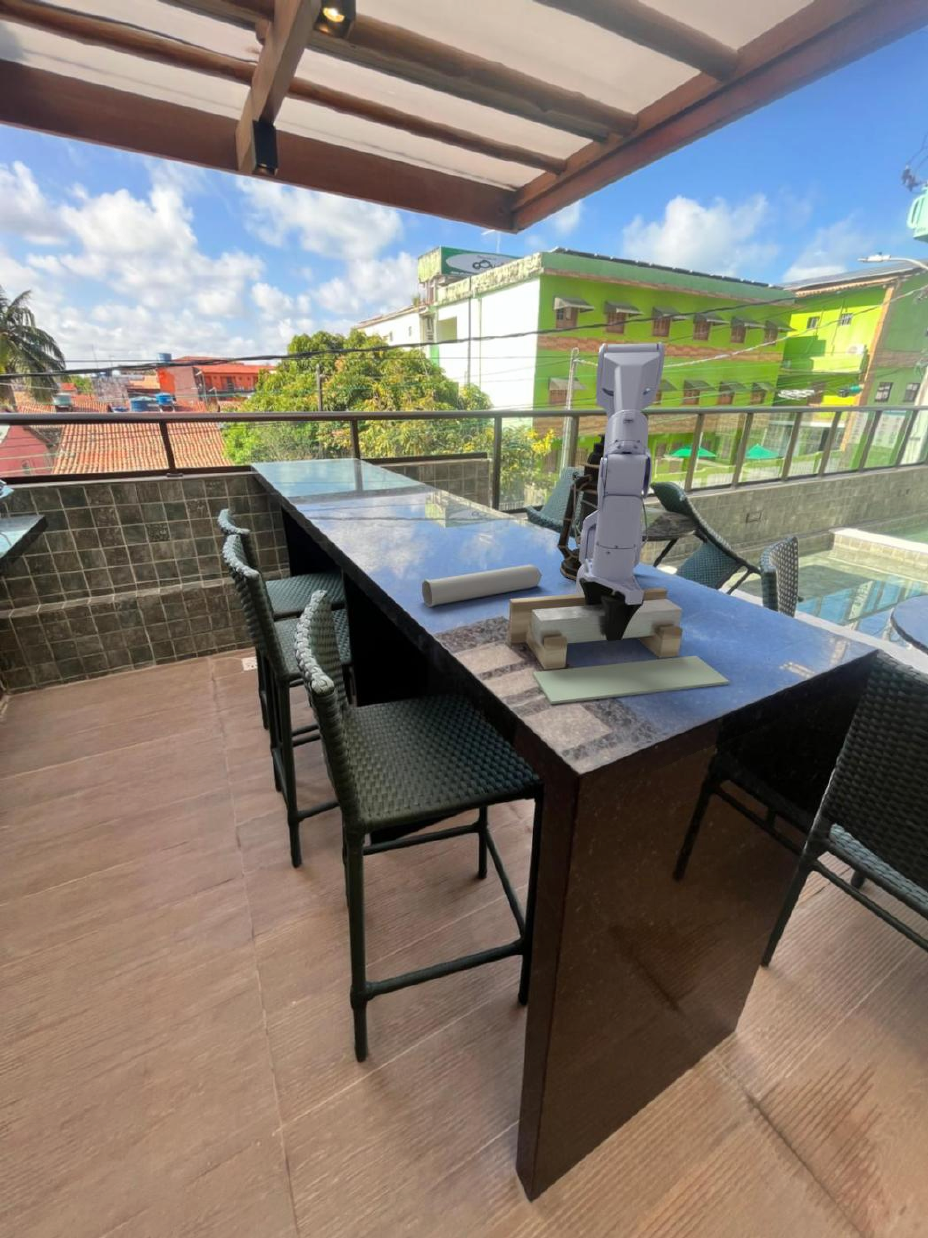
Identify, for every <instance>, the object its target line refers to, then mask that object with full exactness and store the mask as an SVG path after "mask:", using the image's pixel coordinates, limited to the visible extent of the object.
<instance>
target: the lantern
mask: <svg viewBox="0 0 928 1238" xmlns="http://www.w3.org/2000/svg"><path fill="white" fill-rule="evenodd" d="M597 437H600V438H601V439H600V441H599V442H595V443H594V442H593V448H592V449H593V450H592V452H590V453H589V455H588V457H587V460H586V461H584V462H580V463H579V465H580V466H583V475H579V471H574V472H572V473H571V478H572V481H573V484H572V485H570V487H569V494H568V499H567V502H566V506H565V510H564V515H563V518H562V520H563V521H562V525H561V530H560V534H559V538H558V543H557V545H556V547H557V548H558V550H559V551H560V553H561V555H562V557H563V560H562V561H561V565H560V568H559V571H560V572H561V574H562V575H563V576H564V577H565V578H567V577H568V578H567V579H569V578H570V579H569V580H572V581H575V582H576V581H577V573H578V570H579V568H580V567H581V565H582V564H581V562H580V561H579V553H580V542H581V532H582V530H583V521H584V520H585V518H586V517H587V516H589V515H590V514H592V513H593V512H595V511H597V510H598V492H597V487H598V476H599V467H600V461H601V458H603V455H604V444H605V433H600V434H597ZM581 492H582V493H583V494H582V497H581V499H579V497H580V494H581ZM641 499H642V500H643V506H642V511H643V514H644V522H645V523H644V524H645V534H646V539H645V540H644V542H642V548H641V550H642V549H643V548H644V546H645V545H646V543H647V542H648V541H649V533H648V532H649V531H648V517H647V512H646V507H645V502H644V495H643V494H641ZM578 502H579V504H580V510H579V511H580V512H579V522H578V525H576V511H577V506H578ZM572 528H574V529H573V530H574V538H575V539H574V541H575V546H576V548H574V549H570V548H569V541H570V537H571V532H572ZM577 533H578V534H579V536H578V535H577ZM586 553H587V552H586ZM585 559H586V558H585Z"/></svg>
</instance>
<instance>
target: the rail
mask: <svg viewBox="0 0 928 1238" xmlns="http://www.w3.org/2000/svg"><path fill="white" fill-rule="evenodd" d="M682 613H683V608H682V607H680V606H679V605H677V604H675V603H674V602H672V601H671V600H670V599H667V598H666V599H662V600H650V601H644V602H643V605H642V606H641V607H640V608H639V609H638V610H637V611H636V613H635V614H634V615H633V617H632V618H631V620H630V622H629V624H628V626H627V628H626V630H625V633H624V635H623V637H622V639H630V638H636V637H642V636H653V635H659V631H660V627H671V626H679V627H680V624H681V618H682ZM605 628H606V618H605V610H604V606H603V604H599V605H587V606H574V607H561V608H549V609H536V610H532V618H531V636H532V637H533V638H534V640H535V641H536V642H537V644H538V645H539V646H544V638H549V637H560V636H565V637H566V639H567V644H575V643H578V644H579V643H587V642H598V641H607V640H606V634H605Z"/></svg>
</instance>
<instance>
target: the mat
mask: <svg viewBox="0 0 928 1238" xmlns="http://www.w3.org/2000/svg"><path fill="white" fill-rule="evenodd" d="M531 675H532V677H533V679H535V681H536V683H537V685H538V686H539V688H540V689H541V692H543V694H544V695H545V697H546V699H547V700H548V702H549V703H550V705H556V704H563V703H575V702H581V701H582V702H583V701H590V700H598V699H600V700H601V699H606V698H607V699H608V698H609V699H610V698H617V697H626V696H627V697H628V696H634V695H643V694H651V693H652V694H653V693H658V692H659V693H660V692H669V691H677V690H686V689H696V688H704V687H712V686H721V684H723V685H728V683H729V684H730V680H728V679H727V678H726V677H725V676H723V675H722V674H720V672H718V671H716V670H715V669H714V668H713V667H712V666H710V665H709V664H708V663H706V662H705V661H703V660H702V659H701V658H699V657H698V656H697V655H691V656H689V655H688V656H680V657H679V656H678V657H668V658H659V659H652V660H651V659H650V660H641V661H633V662H631V661H630V662H620V663H612V664H604V665H593V666H591V665H590V666H583V667H581V666H580V667H575V668H574V667H573V668H565V669H564V668H560V669H551V670H543V671H533V672H532V674H531ZM725 683H726V684H725Z"/></svg>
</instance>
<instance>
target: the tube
mask: <svg viewBox="0 0 928 1238" xmlns="http://www.w3.org/2000/svg"><path fill="white" fill-rule="evenodd" d="M542 576H543V575H542V573H541V571H540V569H539V568H538V567H537V566H535V565H533V564H524V565H517V566H511V567H505V568H499V569H493V570H492V569H491V570H486V571H485V570H484V571H481V572H480V571H479V572H473V573H467V574H461V575H454V576H448V577H440V578H434V579H428V578H427V579H424V580H423V581H422V583H421V596H422V598H423V602H424V604H425V605H426V606H428V607H429V608H433V607H435V606H439V605H440V606H441V605H445V604H451V603H452V604H453V603H456V602H461V601H462V602H463V601H468V600H473V599H478V598H483V597H489V596H493V595H500V594H505V593H506V594H507V593H511V592H516V591H517V592H518V591H521V590H527V589H531V588H533V589H534V588H535V587H537V586H538V585H539V584H540V582H541V580H542Z"/></svg>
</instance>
